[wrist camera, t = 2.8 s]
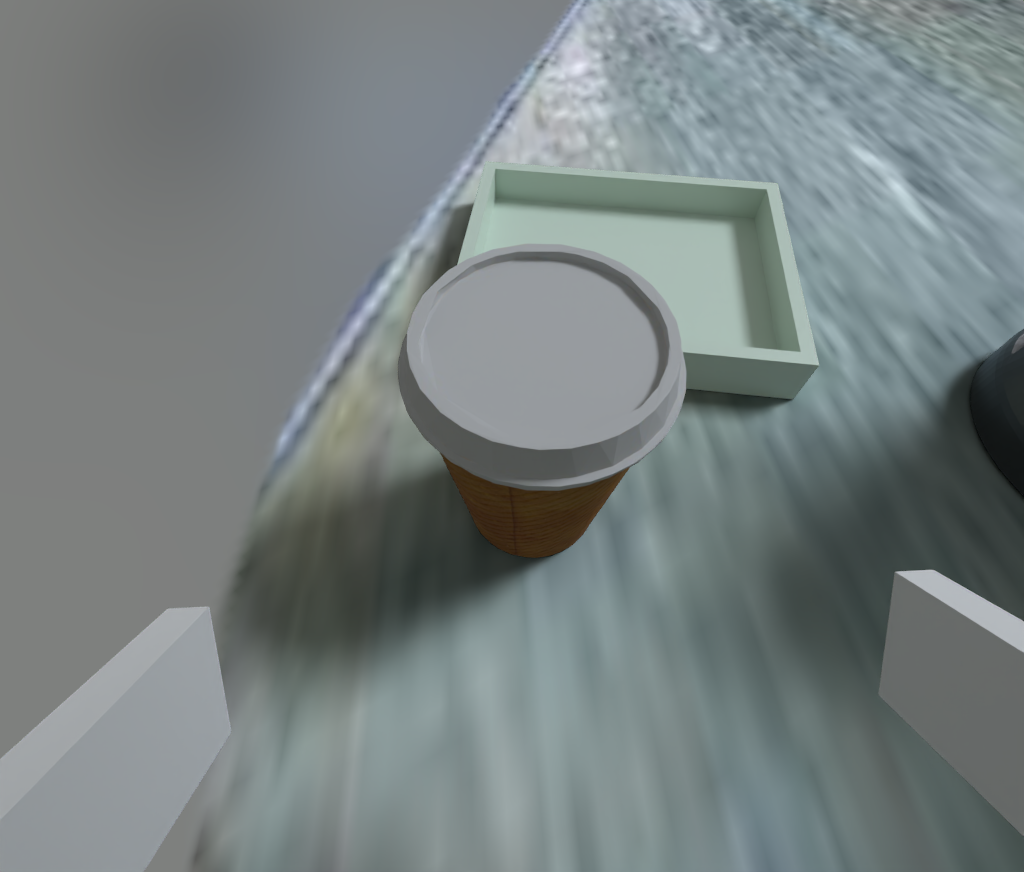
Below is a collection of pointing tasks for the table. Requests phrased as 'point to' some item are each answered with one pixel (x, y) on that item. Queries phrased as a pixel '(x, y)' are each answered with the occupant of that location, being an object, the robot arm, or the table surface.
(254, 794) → the table surface
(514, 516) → the disposable coffee cup
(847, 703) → the table surface
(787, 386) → the sage tray
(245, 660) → the table surface
